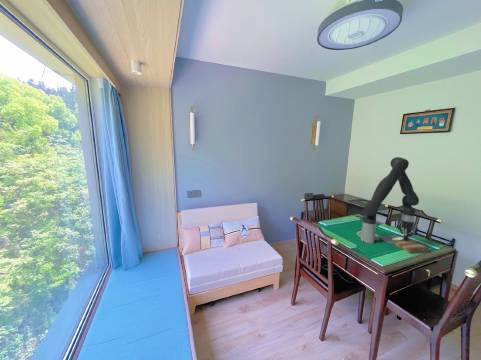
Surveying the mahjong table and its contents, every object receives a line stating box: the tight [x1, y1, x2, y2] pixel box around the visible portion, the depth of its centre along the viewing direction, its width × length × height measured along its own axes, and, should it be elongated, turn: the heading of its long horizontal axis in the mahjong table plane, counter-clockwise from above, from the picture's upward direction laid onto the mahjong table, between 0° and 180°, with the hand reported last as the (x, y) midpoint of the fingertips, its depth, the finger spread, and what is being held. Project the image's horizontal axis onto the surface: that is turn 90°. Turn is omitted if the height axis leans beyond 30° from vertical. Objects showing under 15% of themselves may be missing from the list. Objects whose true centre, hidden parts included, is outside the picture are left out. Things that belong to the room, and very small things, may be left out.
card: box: [392, 236, 404, 240], centre depth 161 cm, size 9×6×2 cm
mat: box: [376, 234, 401, 245], centre depth 167 cm, size 14×20×1 cm
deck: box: [394, 238, 429, 254], centre depth 151 cm, size 14×14×4 cm
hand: (405, 240), depth 155 cm, fingers closed
